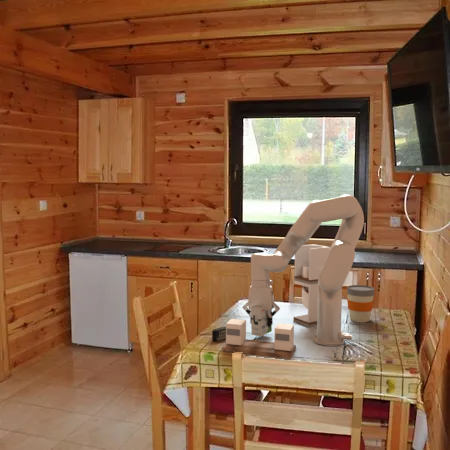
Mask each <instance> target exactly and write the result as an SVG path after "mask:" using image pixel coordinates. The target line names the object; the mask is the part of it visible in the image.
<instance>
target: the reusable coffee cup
mask: <svg viewBox="0 0 450 450" xmlns="http://www.w3.org/2000/svg"><path fill="white" fill-rule="evenodd" d="M346 294H347V308H348V312H349V320H350V321H353V322H358V323H366V322H369V321H370V320H371V319H370V318H371V313H372V311H373V308H374V302H375V301H374V297H375V296H376V295H375V288H374V287H373V286H370V285H365V284H364V285H363V284H353V285H348V286H347V289H346Z"/></svg>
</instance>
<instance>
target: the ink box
mask: <svg viewBox="0 0 450 450" xmlns="http://www.w3.org/2000/svg"><path fill="white" fill-rule="evenodd" d="M250 311H251V323H250V325H251V335H252V336H258V337H263V336H265V335H267V334H269V333H271V332H272V330H273V329H272V327H273V324H272V325H271V327H268V317H269V316H268V313H267V311H264V307H251V310H250Z"/></svg>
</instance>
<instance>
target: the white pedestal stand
mask: <svg viewBox="0 0 450 450" xmlns="http://www.w3.org/2000/svg"><path fill="white" fill-rule="evenodd" d="M330 247H331V246H326V245H320V244H314V243H313V244H304V245H303V246H301V247H300V248H299V250H298V251H297V252H296V253H295V255H294V272H293V273H294V275H293V276H294V277H293V278H294V280H293V281H294V282H293V283H294V284H296V285H299V286H302V287H301V288H302V290H301V304H302V305H303V306H304V308H306V309H307V314H304V315H303V314H302V315H297V316H293V319H292V320H293V322H294V323H296V324H300V325H302V326H305V327H307V328H311V327H317V309H318V273H319V270H320V269H321V267H322V266H324V265H325V263H326V260H327V258H328V256H329V250H330Z"/></svg>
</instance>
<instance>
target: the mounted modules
mask: <svg viewBox="0 0 450 450" xmlns="http://www.w3.org/2000/svg"><path fill="white" fill-rule="evenodd" d="M225 327H226V339H225V344H233V345H242V344H243V342H244V341H245V340H246V338H247V320H246V319H237V318H231V319H229V320H228V321H227V322H226V323H225ZM294 334H295V325H294V324H290V323H280V322H278V324H276V325H275V327H274V339H273V340H274V349H277V350H286V351H290V350H291V349H292V347H293V345H295V344H294V343H295V341H294V339H295V337H294V336H295V335H294Z"/></svg>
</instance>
